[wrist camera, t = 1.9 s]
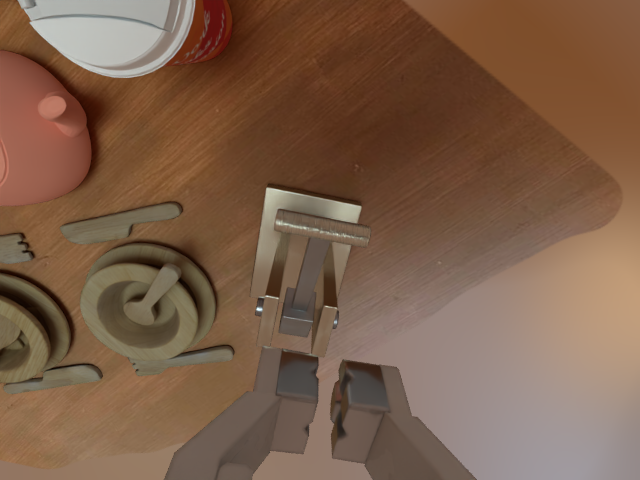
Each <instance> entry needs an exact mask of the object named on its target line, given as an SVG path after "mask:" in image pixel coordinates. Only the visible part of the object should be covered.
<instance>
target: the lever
mask: <svg viewBox="0 0 640 480" xmlns="http://www.w3.org/2000/svg"><path fill="white" fill-rule="evenodd" d="M274 230H275V231H278V232H283V233H289V234H294V235H299V236H305V237H309V238H308V242H307V246H306V250H305V254H304V257H303V261H302V265H301V269H300V273H299V277H298V281H297V284H296V288H289V287H287V290H286V294H285V299H284V303H283V309H282V314H281V320H280V326H279V333H282V334H288V335H294V336H300V337H308V334H309V331H310V329H311V326H312V324H313V320H314V311H315V303H316V294H317V293H316V292H313V291H314V288H315V285H316V282H317V279H318V276H319V273H320V270H321V268H322V265H323V262H324V259H325V256H326V253H327V250H328V247H329V244H330V241H331V242H336V243H341V244H347V245H352V246H357V247H363V248H366V247H367V246H368V244H369V240H370V236H371V228H370V226H367V225H362V224H357V223H352V222H347V221H341V220H336V219H331V218H326V217H321V216H316V215H311V214H306V213H300V212H295V211H290V210H285V209H280V208H279V209H278V210H277V213H276V218H275V224H274Z"/></svg>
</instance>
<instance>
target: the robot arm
mask: <svg viewBox="0 0 640 480" xmlns="http://www.w3.org/2000/svg"><path fill="white" fill-rule="evenodd" d="M317 369H318V355H314V354H309V353H303V352H298V351H292V350H287V349H282V351H281V349H280V348H275V347H269V346H264V345H263V347H262V350H261V355H260V360H259V365H258V369H257V374H256V379H255V384H254V389H253V392H248V391H247V392H246V393H244V394H243V395H242V396H241V397H240V398H239V399H237V400H236V401H235V402H234V403H233V404H232V405H230V406H229V407H228V408H227V409H226V410H224V411H223V412H222V413H221V414H220V415H219V416H217V417H216V418H215V419H214V420H213V421H211V422H210V423H209V424H208V425H207V426H206V427H204V428H203V429H202V430H201V431H200V432H198V433H197V434H196V435H195V436H194V437H193V438H191V439H190V440H189V441H188V442H187V443H186V444H184V445H183V446H182V447H181V448H180V449H179V450H177V451H176V452H175V453H174V456H173V458H172V461H171V463H170V466H169V468H168V471H167V473H166V476H165V479H164V480H252V476H253V474H254V472H255V471H256V470H257V468H258V467H259V466H260V464H261V463H262V462H263V461H264V459H265V458H266V457H267V456H268V454H269V453H270V451H278V452H288V453H296V454H304V450H305V447H306V444H307V440H308V437H309V424H310V423H312V422H313V419H314V415H315V411H316V407H317V404H318V378H317V377H316V373H317ZM330 413H331V421H332V422H333V423H334V427H333V430H332V433H331V444H332V458H333V459H339V460H345V461H351V462H357V463H363V464H365V467H366V469H367V470H368V472H369V474H370V475H371V477H372V479H373V480H477V479H476V478H475V477H474V476H473V475H472V474H471V473H470V472H469V471H468V470H467V469H466V468H465V467H464V466H463V465H462V464H461V463H460V461H458V459H457V458H456V457H455V456H454V455H453V454H452V453H451V452H450V451H449V450H448V449H447V448H446V447H445V446H444V445H443V444H442V442H441V441H440V440H439V439H438V438H437V437H436V436H435V435H434V434H433V433H432V432H431V431H430V430H429V429H428V428H427V427H426V426H425V425H424V424H423V422H421V420H420V419H419V418H418V417H414V416H412V415H411V411H410V407H409V404H408V401H407V397H406V393H405V390H404V386H403V383H402V379H401V376H400V372H399V369H398V368H397V367H392V366H385V365H376V364H370V363H363V362H357V361H350V360H344V359H343V360H342V362H341V364H340V368H339V380H338V381H337V382H336V383H335V385H334V388H333V392H332V398H331V409H330Z"/></svg>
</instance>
